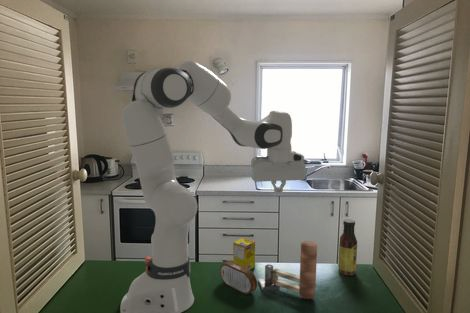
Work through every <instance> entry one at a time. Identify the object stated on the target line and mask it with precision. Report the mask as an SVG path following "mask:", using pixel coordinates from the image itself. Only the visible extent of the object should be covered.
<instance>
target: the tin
mask: <svg viewBox="0 0 470 313" xmlns="http://www.w3.org/2000/svg"><path fill="white" fill-rule="evenodd" d="M219 271H220V277H221V279H222V281H223V283H224V284H225V285H227V287H230V288H232V289H234V290H235V291H238V292H240V293H242V294H244V295H250V294H252V293H253V292H255V291H256V289H257V287H258V279H257V278H256V276H255V274H254V272H253V270H249V269H248V268H246V267H243V266H241V265H239V264H237V263H235V262H234V261H232V260H227V261H225V262H224V263H222V264H221V266H220V269H219Z"/></svg>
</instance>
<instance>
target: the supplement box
mask: <svg viewBox="0 0 470 313" xmlns="http://www.w3.org/2000/svg"><path fill="white" fill-rule="evenodd" d="M232 245H233V247H232V248H233V249H232V250H233V255H232V256H233V262H235V263H237V264H239V265H241V266H243V267H246V268H248V269H249V270H251V271H253V270H255V269H256V241H254V240H251V239H248V238H245V237H242V238H239V239H237V240H236V241H235V240H234V242H233V244H232Z"/></svg>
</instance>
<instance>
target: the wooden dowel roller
mask: <svg viewBox="0 0 470 313" xmlns="http://www.w3.org/2000/svg"><path fill="white" fill-rule="evenodd" d="M299 257H300V260H299V265H300V266H299V275H297V274H294V273H290V272H288V271H284V270H282V269H278V268H273V281H272V284H274V285H277V286H280V288H284V289H286V290H289V291H292V292H295V293H297V294H299V296H300V298H303V299H306V300H310V299H311V300H312V299H314V298H315V297H316V284H317V283H316V282H317V281H316V280H317V262H318V261H317V257H318V244H317V243H316V242H314V241H310V240H307V241H302V242H300V256H299ZM279 277H280V278H283V279H285V281H284V280H282V279H280V278H279ZM286 280H288V281H292V282H295V283H298V285H297V284H294V283H291V282H288V281H286Z"/></svg>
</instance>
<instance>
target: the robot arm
mask: <svg viewBox="0 0 470 313" xmlns="http://www.w3.org/2000/svg"><path fill="white" fill-rule="evenodd" d="M132 90H133V93H132V99H131V102H129V103H128V104H126V106H124V108H123V109H122V111H121V120H122V126H123V131H124V134H125V138H126V141H127V145H128V147H129V150H130V152H131V156H132V158H133V161H134V164H135V167H136V170H137V173H138V176H139V177H138V178H139V182H140V187H141V191H142V196H143V199H144V202H145V203H146V205H147V207H148V208H149V209H151V211H153V213H154V216H155V225H154V229H153V233H152V234H151V238H150V240H151V242H150V243H151V256H149V255H148V256H146V257H145V258H144V263H145V266H144V268H145V271H144V272H143V273H141V274H140V275H139V276H137V277H136V278H134V280H132V282H131V284H130V286H129V289H128V292H127V293H126V294H125V295H124V296H123V298H122V299H121V301H120V306H119V307H120V308H119V311H120V312H119V313H184V312H185V311H187V310H188V309H189V308H191V307H192V306H193V305H194V301H195V296H194V294H193V291H192V286H191V281H190V280H191V279H190V276H191V261H190V256H189V231H190V227H191V222H192V220H194V218H195V217H196V214H197V213H198V202H197V198H196V197H195V195H194V194H193V193H192V192H191V190H190V189H188V188H187V187H185V186H183V185H182V184H180V183H179V182H178V180H177V178H176V173H175V164H174V163H175V155H174V152H173V149H172V146H171V143H170V140H169V136H168V134H167V131H166V128H165V127H166V126H165V125H164V119H163V115H164V114H163V113H164V110H165V109H168V108H169V109H172V108H176V107H179V106H181V105H182V104H183V103H185V102H186V101H187V100H189V101H190V102H191V103H192V104H194V105H195V106H196V107H198V109H200V110H202V111H203V112H205V113H206V114H208V115H210V116H211V117H212V118H213V119H214V120H215V121H216V122H217V123H219V124H220V125H221V126H222V127H223V128H224V129H226V130H227V131H228V133H229V134H230V136H231V138H232V140H233V141H234V143H235V144H237V145H238V146H240V147H246V148H247V147H249V148H253V149H254V148H255V149H259V150H260V149H261V150H267V151H266V155H261V156H259V155H257V156H254V157H253V158H252V159H251V161H250V162H251V165H250V166H251V167H252V168H251V175H250V176H251V177H250V178H251V179H252V181H253V182H254V183H255V182H256V183H257V182H259V183H260V182H261V183H263V182H270V183H271V184H272V187H273V192H274V193H275V194H276V193H283V190H284V187H285V185H286V184H287V181H305V179H306V178H307V167H306V164H305V155H303V154H302V153H298V152H296V151H293V150H292V148H293V147H292V143H291V142H292V137H293V120H292V117H291V115H290V113H288V112H285V111H279V110H271V111H269V114H267V115H266V116H265V117H264V118H262V119H260V120H251V119H250V120H249V119H247V118H246V119H245V118H242V117H240V116H238V114H237V113H235V112H234V111H233V110H232V109H231V108H230V107H229V105H230V103H231V100H232V92H231V89H230V88H229V87H228V85H227V84H226V83H225V82H224V81H223V80H222V79H221V78H219V77H218V76H217V75H216V74H215V73H213V72H212V71H211V70H209V69H208V68H206V67H205V66H203V65H202V64H200V63H198V62H196V61H195V60H186V61H184V62H182V63H181V64H179V65H178V66H177V68H174V67H164V68H159V67H158V68H153V69H150V70H148V71H144V72H142V73H140V74H139V76H137V78H136V79H135V81H134V83H133V89H132ZM277 182H281V183H280V186H277V185H276V184H277Z"/></svg>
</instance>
